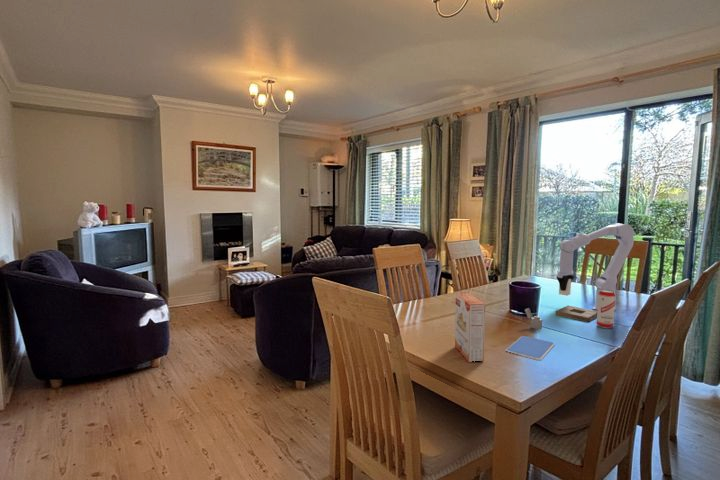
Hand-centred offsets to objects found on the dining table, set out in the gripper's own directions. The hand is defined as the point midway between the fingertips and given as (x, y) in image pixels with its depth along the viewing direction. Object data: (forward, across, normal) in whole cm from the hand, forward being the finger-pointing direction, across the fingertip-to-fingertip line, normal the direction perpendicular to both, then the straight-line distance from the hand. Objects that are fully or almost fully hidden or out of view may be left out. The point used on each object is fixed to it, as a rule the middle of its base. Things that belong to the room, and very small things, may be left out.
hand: (564, 289), depth 192 cm
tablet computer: (+10, +65, +14) cm, 67 cm away
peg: (+2, 0, 0) cm, 2 cm away
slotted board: (+9, +9, +10) cm, 16 cm away
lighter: (+10, +42, +4) cm, 43 cm away
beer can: (+10, +16, +24) cm, 30 cm away
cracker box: (+10, +88, +2) cm, 88 cm away
